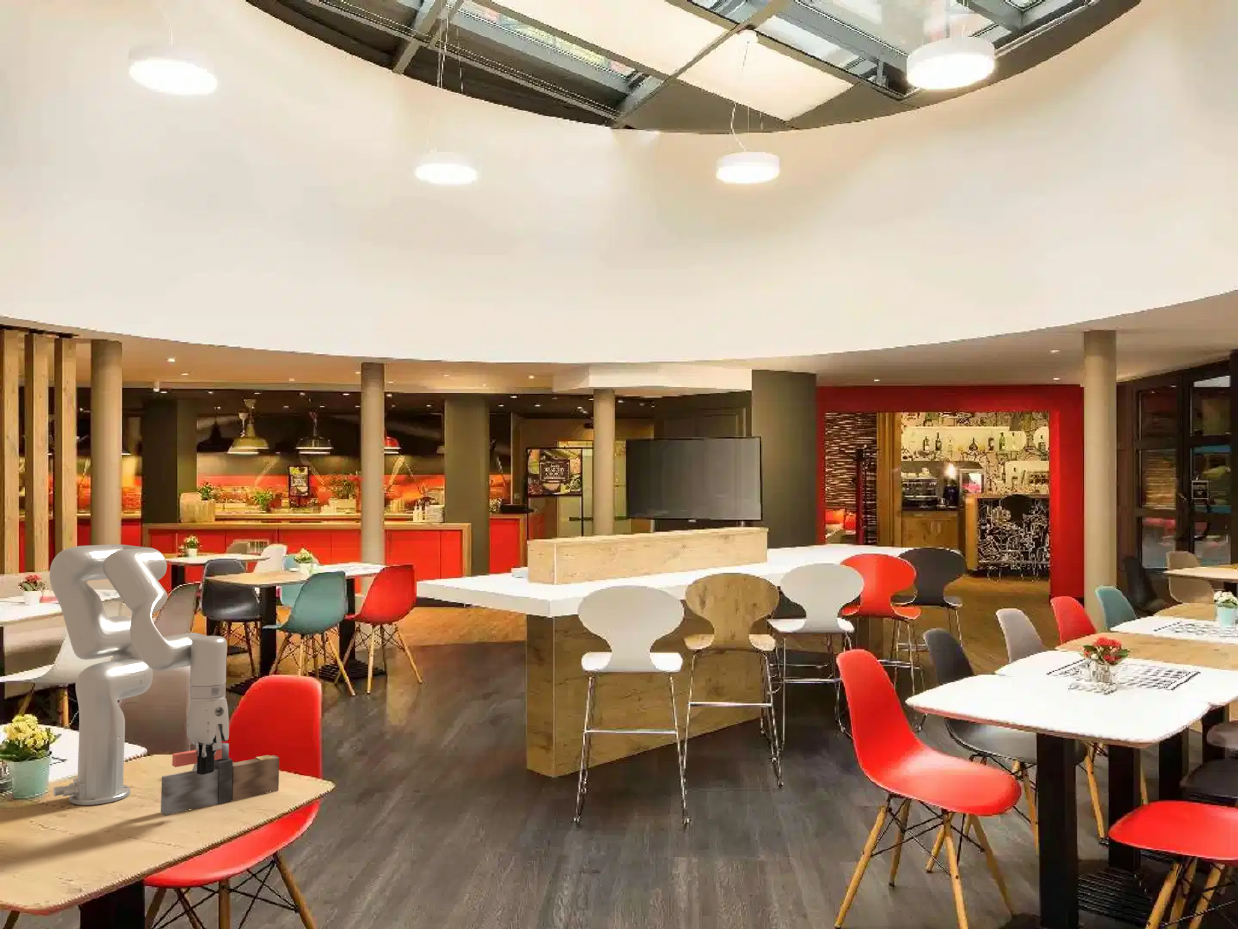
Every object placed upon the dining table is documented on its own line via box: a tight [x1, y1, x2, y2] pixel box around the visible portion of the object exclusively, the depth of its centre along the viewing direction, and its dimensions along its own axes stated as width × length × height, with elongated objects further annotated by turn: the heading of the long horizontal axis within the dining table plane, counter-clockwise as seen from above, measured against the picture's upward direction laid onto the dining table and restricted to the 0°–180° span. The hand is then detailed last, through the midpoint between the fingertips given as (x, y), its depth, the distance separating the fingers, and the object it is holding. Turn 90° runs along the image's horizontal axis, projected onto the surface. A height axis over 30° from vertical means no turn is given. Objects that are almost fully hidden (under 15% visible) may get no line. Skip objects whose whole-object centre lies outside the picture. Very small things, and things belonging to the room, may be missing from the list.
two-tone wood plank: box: [160, 754, 280, 817], centre depth 215 cm, size 26×4×10 cm, turn 134°
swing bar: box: [171, 742, 230, 768], centre depth 212 cm, size 12×2×3 cm, turn 134°
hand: (205, 772), depth 207 cm, fingers closed
